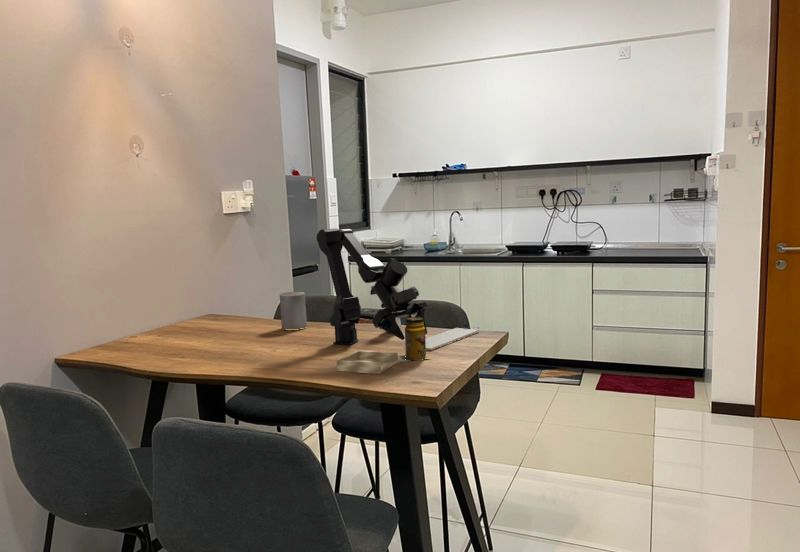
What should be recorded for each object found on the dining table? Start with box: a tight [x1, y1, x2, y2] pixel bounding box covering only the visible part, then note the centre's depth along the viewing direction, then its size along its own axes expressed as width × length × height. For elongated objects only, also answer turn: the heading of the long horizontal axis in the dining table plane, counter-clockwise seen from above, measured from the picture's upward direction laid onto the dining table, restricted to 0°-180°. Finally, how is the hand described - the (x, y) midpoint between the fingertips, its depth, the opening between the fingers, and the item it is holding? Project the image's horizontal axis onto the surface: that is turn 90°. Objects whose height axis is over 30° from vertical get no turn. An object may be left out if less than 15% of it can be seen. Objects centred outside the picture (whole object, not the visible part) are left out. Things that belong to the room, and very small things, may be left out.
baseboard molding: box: [403, 324, 480, 351], centre depth 200 cm, size 31×3×12 cm
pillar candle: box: [279, 291, 308, 330], centre depth 229 cm, size 10×10×15 cm
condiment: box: [398, 317, 427, 363], centre depth 176 cm, size 7×8×12 cm
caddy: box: [336, 349, 399, 375], centre depth 169 cm, size 13×13×3 cm
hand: (415, 336), depth 175 cm, fingers open, 9 cm apart
